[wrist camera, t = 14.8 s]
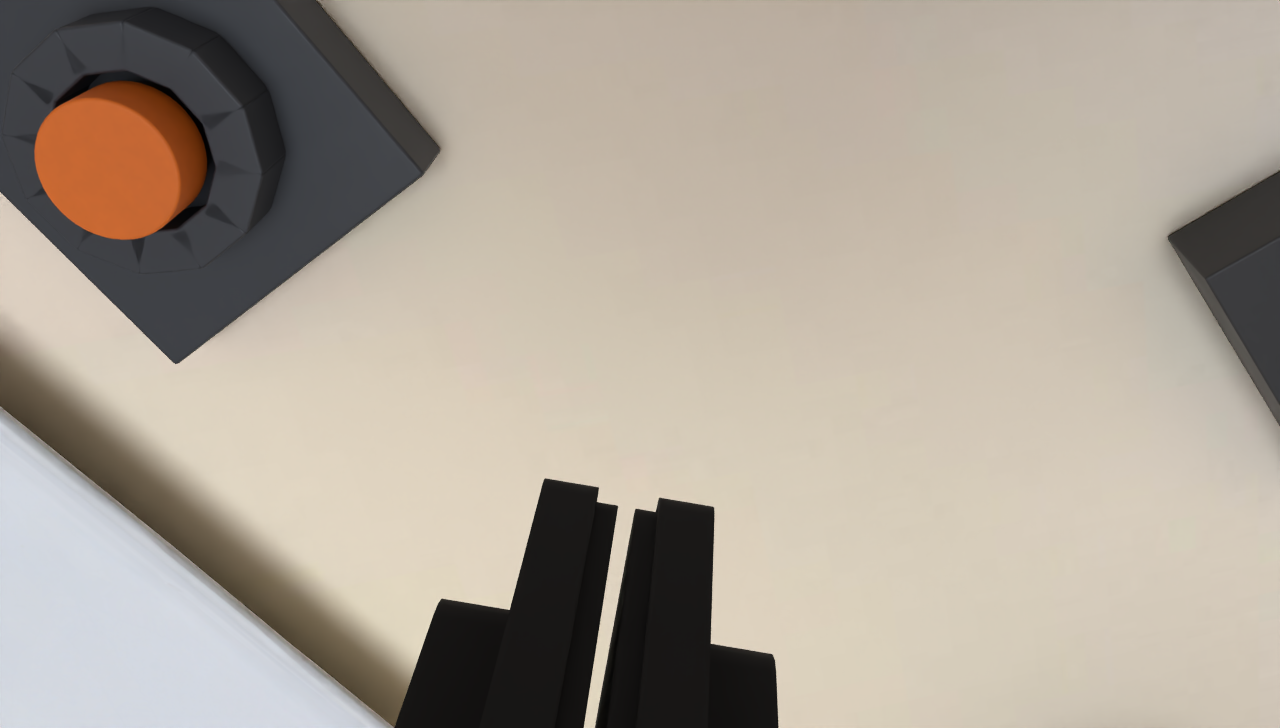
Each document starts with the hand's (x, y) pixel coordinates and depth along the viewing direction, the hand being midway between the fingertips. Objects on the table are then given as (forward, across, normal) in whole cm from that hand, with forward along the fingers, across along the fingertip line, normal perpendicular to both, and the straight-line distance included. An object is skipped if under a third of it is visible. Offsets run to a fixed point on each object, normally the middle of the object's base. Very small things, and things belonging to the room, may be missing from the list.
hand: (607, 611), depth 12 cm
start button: (+19, +13, +4) cm, 24 cm away
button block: (+23, +14, +4) cm, 27 cm away
